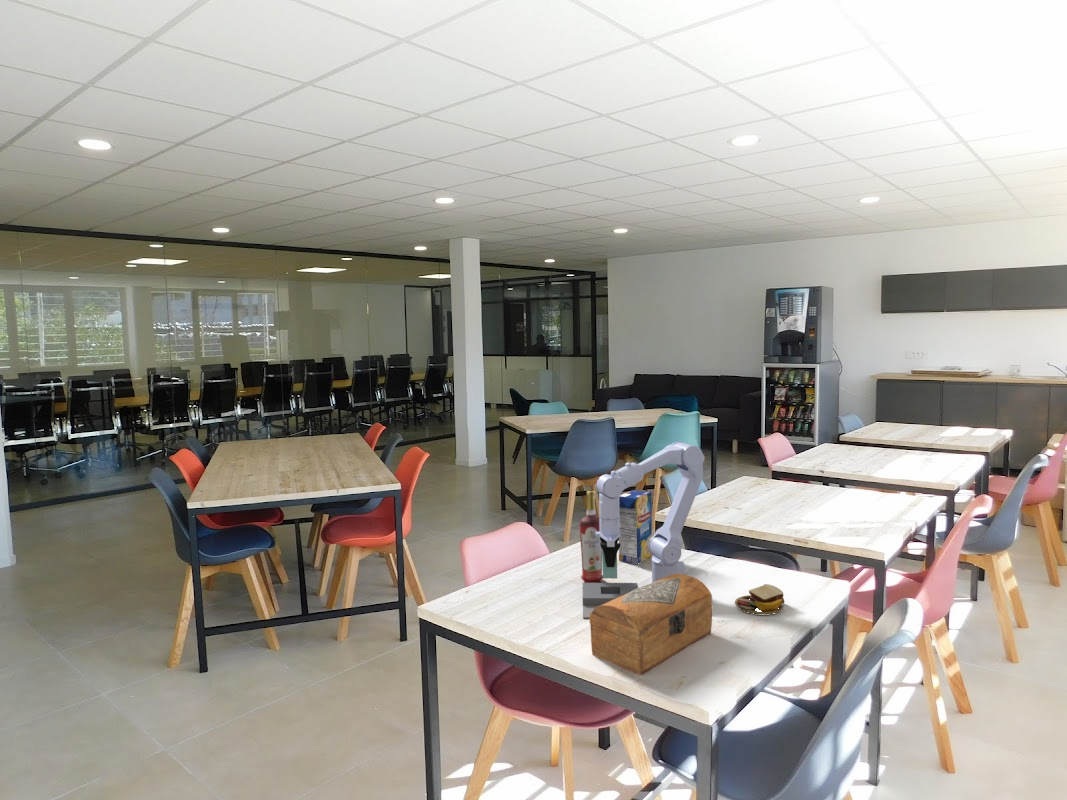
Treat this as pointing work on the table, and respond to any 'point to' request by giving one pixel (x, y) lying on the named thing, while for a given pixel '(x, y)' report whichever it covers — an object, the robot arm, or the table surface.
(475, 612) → the table surface
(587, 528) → the liquor
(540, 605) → the table surface
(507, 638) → the table surface
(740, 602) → the toy sandwich meal
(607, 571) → the teal block
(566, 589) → the table surface
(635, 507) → the beverage box
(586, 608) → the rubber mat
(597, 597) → the pocket board
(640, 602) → the wooden box
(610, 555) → the robot arm
